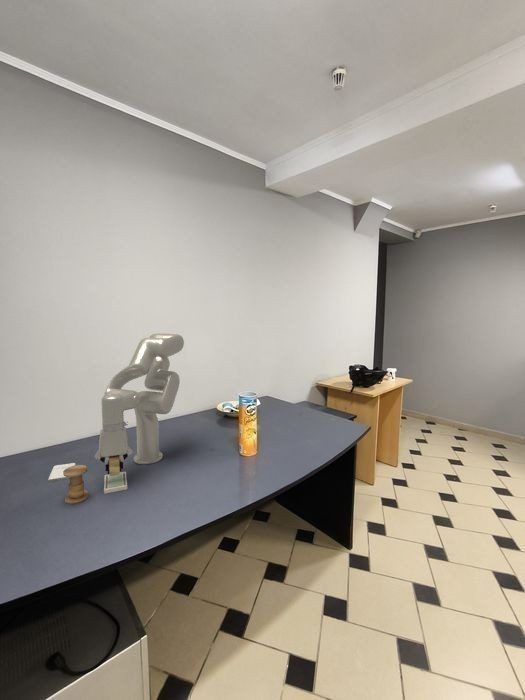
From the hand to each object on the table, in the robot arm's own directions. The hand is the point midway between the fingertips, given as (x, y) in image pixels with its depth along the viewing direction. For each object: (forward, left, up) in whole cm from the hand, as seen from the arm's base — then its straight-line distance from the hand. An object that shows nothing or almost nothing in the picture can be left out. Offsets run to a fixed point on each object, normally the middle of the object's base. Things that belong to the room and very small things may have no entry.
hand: (114, 471), depth 131 cm
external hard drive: (-18, -20, -6) cm, 28 cm away
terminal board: (0, 0, -5) cm, 5 cm away
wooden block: (0, 0, -1) cm, 1 cm away
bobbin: (+5, -13, -5) cm, 15 cm away
